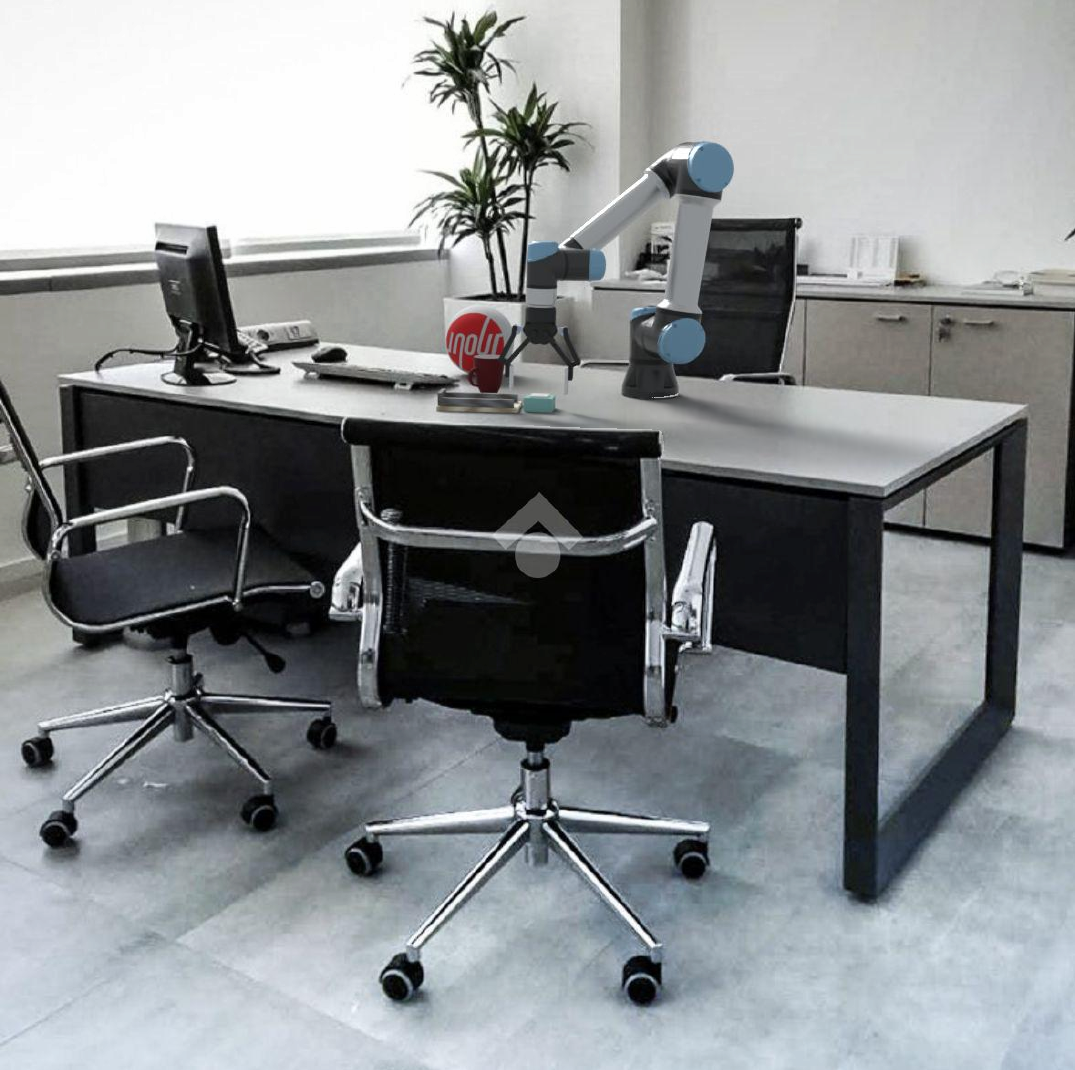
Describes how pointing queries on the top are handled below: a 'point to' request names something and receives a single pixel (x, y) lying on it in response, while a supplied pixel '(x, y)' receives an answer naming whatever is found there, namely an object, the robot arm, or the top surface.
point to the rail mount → (477, 402)
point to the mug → (487, 373)
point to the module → (539, 402)
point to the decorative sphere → (476, 335)
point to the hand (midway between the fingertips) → (538, 392)
